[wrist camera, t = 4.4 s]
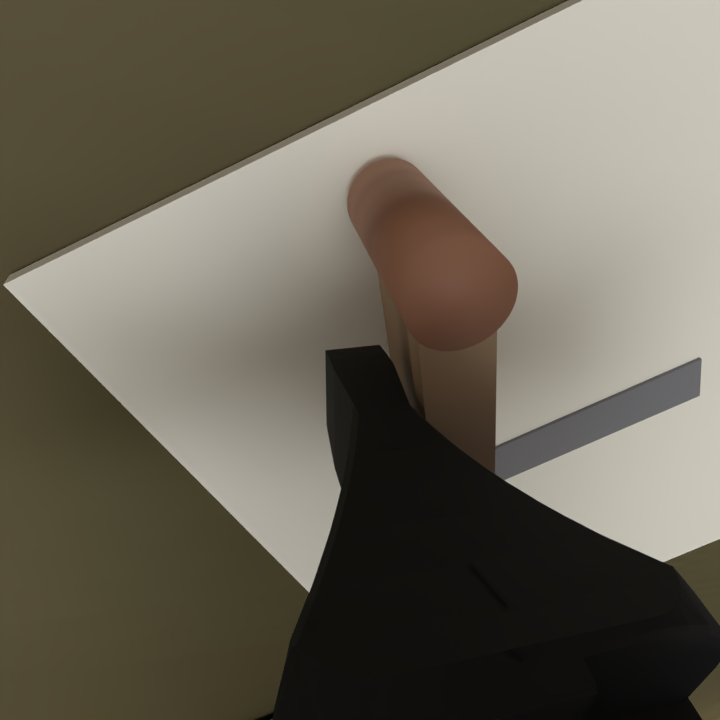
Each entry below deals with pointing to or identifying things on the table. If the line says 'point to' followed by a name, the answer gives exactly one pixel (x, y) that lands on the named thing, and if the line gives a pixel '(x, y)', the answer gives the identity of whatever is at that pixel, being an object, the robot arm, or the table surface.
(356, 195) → the brown wooden bar
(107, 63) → the table surface
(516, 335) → the card
